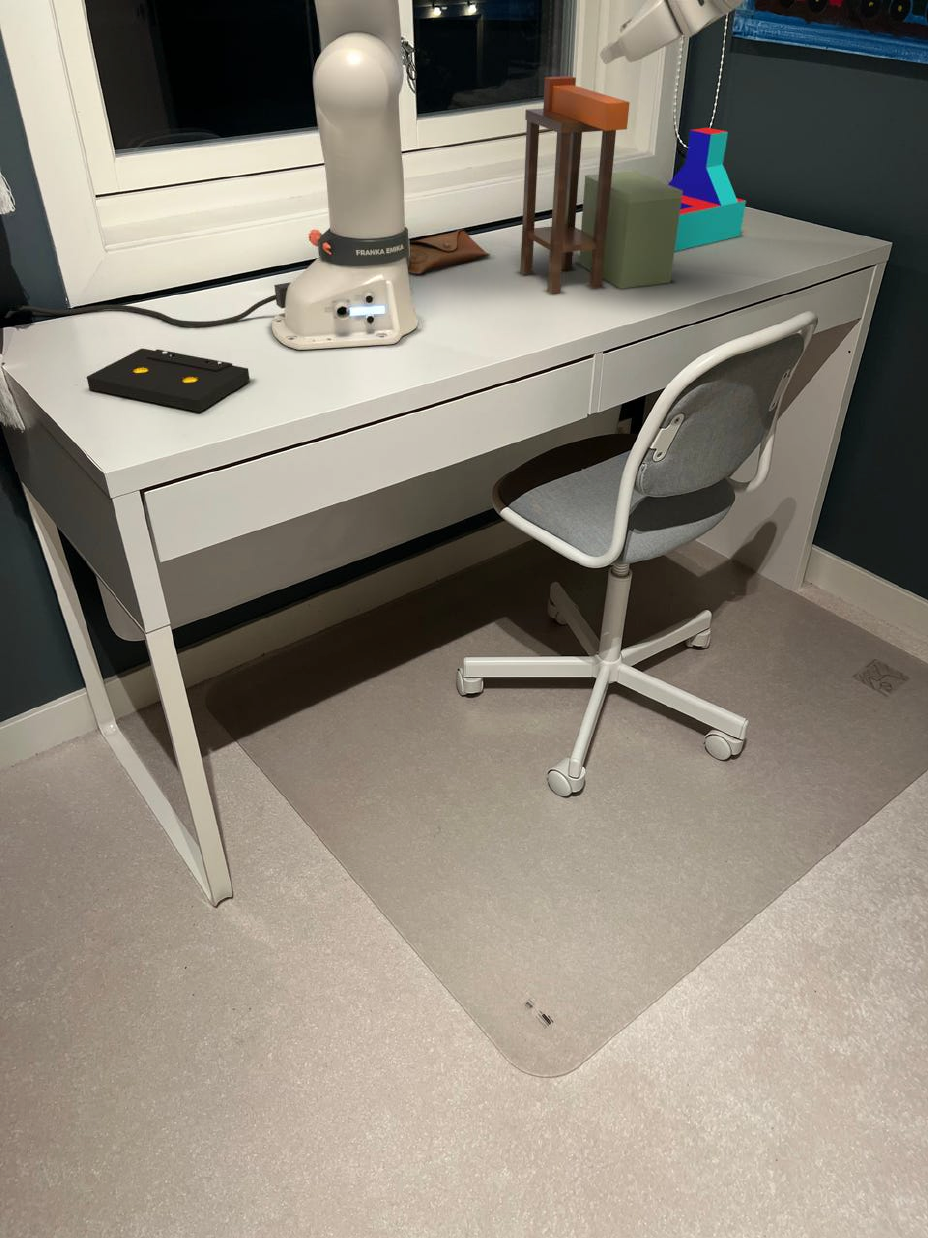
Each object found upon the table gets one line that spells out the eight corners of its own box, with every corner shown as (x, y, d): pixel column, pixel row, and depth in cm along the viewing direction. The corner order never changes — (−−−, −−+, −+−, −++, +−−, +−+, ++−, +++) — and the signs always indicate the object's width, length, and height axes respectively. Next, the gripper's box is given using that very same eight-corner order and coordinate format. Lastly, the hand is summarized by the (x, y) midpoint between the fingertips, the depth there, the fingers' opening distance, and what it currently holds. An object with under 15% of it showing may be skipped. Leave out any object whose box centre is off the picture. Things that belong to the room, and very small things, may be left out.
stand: (551, 294, 160) (561, 122, 145) (518, 272, 170) (525, 109, 154) (603, 287, 163) (619, 118, 148) (568, 266, 173) (580, 105, 157)
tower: (602, 130, 140) (605, 95, 137) (543, 109, 154) (544, 77, 152) (630, 128, 141) (633, 93, 138) (568, 107, 156) (570, 75, 153)
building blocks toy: (650, 209, 206) (661, 115, 195) (739, 235, 190) (757, 134, 179) (585, 222, 197) (593, 124, 186) (674, 251, 181) (688, 145, 170)
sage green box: (620, 288, 163) (630, 195, 154) (578, 263, 174) (585, 175, 165) (670, 282, 166) (682, 190, 157) (625, 257, 177) (635, 170, 168)
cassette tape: (251, 381, 130) (249, 366, 128) (200, 414, 121) (197, 398, 120) (144, 360, 135) (141, 346, 134) (88, 390, 127) (84, 375, 126)
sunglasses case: (419, 273, 167) (406, 235, 166) (398, 286, 173) (385, 249, 171) (493, 254, 177) (481, 218, 175) (471, 266, 182) (459, 232, 181)
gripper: (709, -62, 129) (623, -3, 138) (671, -13, 117) (579, 49, 126) (729, -16, 132) (644, 39, 141) (694, 37, 120) (603, 93, 129)
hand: (613, 44), depth 133 cm, fingers open, 8 cm apart
